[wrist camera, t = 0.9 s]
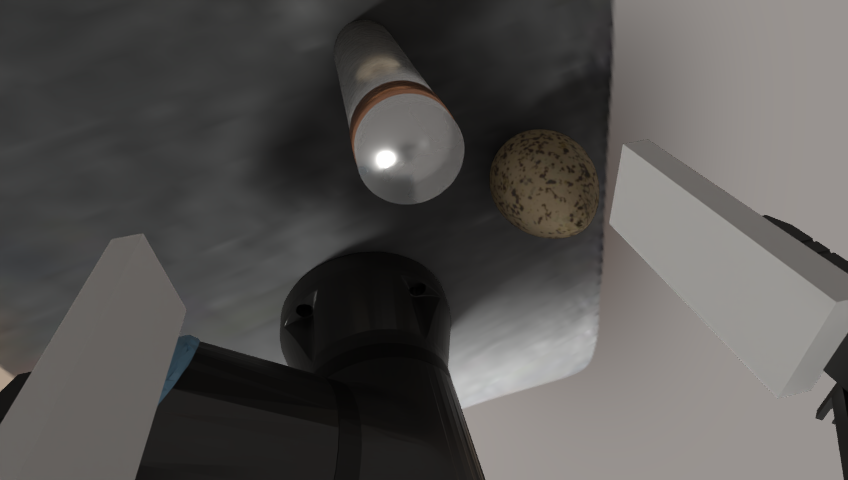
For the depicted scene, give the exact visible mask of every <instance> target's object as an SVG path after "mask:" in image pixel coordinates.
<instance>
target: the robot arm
mask: <svg viewBox="0 0 848 480" xmlns="http://www.w3.org/2000/svg"><path fill="white" fill-rule="evenodd" d="M609 224H610V225H611V226H612V227H613V228H614V229H615V230H616V231H617V232H618V233H619V234H620V235H621V236H622V237H623V239H624V240H625V241H626V242H627V243H628V244H629V245H630V246H631V247H632V248H633V249H634V250H635V251H636V252H637V253H638V254H639V255H640V256H641V257H642V258H643V259H644V260H645V261H646V262H647V263H648V265H649V266H651V268H652V269H653V270H654V271H655V272H656V273H657V274H658V275H659V276H660V277H661V278H662V279H663V280H664V281H665V282H666V283H667V284H668V285H669V286H670V287H671V288H672V289H673V290H674V291H675V293H676V294H677V295H678V296H679V297H680V298H681V299H682V300H683V301H684V302H685V303H686V304H687V305H688V306H689V307H690V308H691V309H692V310H693V311H694V312H695V313H696V314H697V315H698V316H699V318H700V319H701V320H702V321H703V322H704V323H705V324H706V325H707V326H708V327H709V328H710V329H711V330H712V331H713V332H714V333H715V334H716V335H717V336H718V337H719V338H720V339H721V340H722V341H723V343H724V344H725V345H726V346H727V347H728V348H729V349H730V350H731V351H732V352H733V353H734V354H735V355H736V356H737V357H738V358H739V359H740V360H741V361H742V362H743V363H744V364H745V365H746V366H747V367H748V368H749V370H750V371H751V372H752V373H753V374H754V375H755V376H756V377H757V378H758V379H759V380H760V381H761V382H762V383H763V384H764V385H765V386H766V387H767V388H768V389H769V390H770V391H771V392H772V393H773V394H774V395H775V397H776V398H777V399H779V398H783V397H787V396H791V395H794V394H798V393H802V392H806V391H810V390H811V389H812V388H813V386H814V385H815V383H816V382H817V380H818V379H819V377H820V376H821V374H822V373H823V371H825V372H826V373H827V374H828V375H829V376H830V377H831V378H833V379H834V380H835V381H836V382H837V383H836V384H835V386H834V387H833V389H832V390H831V391H830V393H829V394H828V396H827V397H826V399H825V400H824V401H823V403H822V404H821V405H820V407H819V408H818V410H817V413H816V418H817V419H820V420H823V419H824V417H825V416H826V415H827V413H828V412H829V411H830V409H832V408H833V411H834V417H835V419H834V420H833V422H832V423H833V424H836V431H837V437H838V444H839V450H840V457H841V463H842V470H843V476H844V480H848V261H846V260H845V259H843V258H842V257H840V256H839V255H837V254H836V253H831V252H830V249H828V248H826V247H825V246H823V245H822V244H820V243H819V242H817V241H816V242H814V241H813V239H812V238H811V237H810V236H808V235H806V234H805V233H803V232H802V231H800V230H799V229H797V228H796V227H794V226H793V225H790V224H788V223H785V222H783V221H780V220H778V219H775V218H773V217H770V216H767V215H764V216H761V215H760V214H758V213H756V212H755V211H753V210H752V209H751V208H749V207H747V206H746V205H745V204H743V203H742V202H740V201H739V200H737V199H736V198H734V197H733V196H731V195H730V194H728V193H727V192H725V191H724V190H722V189H721V188H719V187H718V186H716V185H715V184H713V183H712V182H711V181H709V180H708V179H706V178H705V177H703V176H702V175H700V174H698V173H697V172H696V171H694V170H693V169H691V168H690V167H688V166H687V165H685V164H684V163H682V162H681V161H679V160H678V159H676V158H675V157H673V156H672V155H670V154H669V153H667V152H666V151H664V150H663V149H661V148H660V147H658V146H657V145H656V144H654V143H653V142H651V141H649V140H648V139H647V140H642V141H637V142H631V143H626V144H623V147H622V152H621V159H620V164H619V171H618V175H617V181H616V187H615V192H614V198H613V204H612V209H611V215H610V221H609ZM186 311H187V310H186V308H185V306H184V305H183V303H182V301H181V299H180V297H179V296H178V294H177V292H176V290H175V289H174V287H173V285H172V283H171V282H170V280H169V278H168V276H167V275H166V273H165V271H164V269H163V268H162V266H161V264H160V262H159V261H158V259H157V257H156V255H155V254H154V252H153V250H152V248H151V247H150V245H149V243H148V241H147V239H146V238H145V236H144V234H143V233H142V234H137V235H132V236H126V237H121V238H116V239H111V241H110V243H109V244H108V246H107V248H106V249H105V251H104V253H103V254H102V256H101V258H100V259H99V261H98V263H97V264H96V266H95V268H94V269H93V271H92V273H91V274H90V276H89V278H88V279H87V281H86V283H85V284H84V286H83V288H82V289H81V291H80V293H79V294H78V296H77V298H76V299H75V301H74V302H73V304H72V306H71V307H70V309H69V311H68V312H67V314H66V316H65V317H64V319H63V321H62V322H61V324H60V326H59V327H58V329H57V331H56V332H55V334H54V336H53V337H52V339H51V341H50V342H49V344H48V346H47V347H46V349H45V351H44V352H43V354H42V356H41V357H40V359H39V361H38V362H37V364H36V366H35V367H34V369H33V371H32V372H28V373H23V374H18V375H17V376H16V377H15V378H14V379H13V380H12V381H11V382H10V383H9V384H8V385H7V386H6V387H5V388H4V389H3V390H2V391H1V392H0V480H485V477H484V474H483V471H482V469H481V465H480V463H479V460H478V457H477V454H476V451H475V448H474V445H473V442H472V439H471V436H470V433H469V430H468V427H467V424H466V421H465V418H464V415H463V412H462V409H461V406H460V403H459V400H458V397H457V394H456V391H455V388H454V386H453V383H452V380H451V376H450V373H449V370H448V359H449V345H450V330H451V315H450V309H449V305H448V302H447V300H446V297H445V294H444V292H443V289H442V287H441V285H440V283H439V281H438V280H437V278H436V277H435V276H434V275H433V274H432V273H431V272H430V271H429V270H428V269H427V268H425V267H424V266H422V265H421V264H419V263H417V262H415V261H413V260H411V259H409V258H406V257H403V256H399V255H395V254H390V253H381V252H367V253H357V254H352V255H347V256H343V257H340V258H337V259H334V260H331V261H329V262H327V263H324V264H322V265H320V266H319V267H317V268H315V269H314V270H312V271H311V272H309V273H308V274H307V275H305V276H304V277H303V278H302V279H301V280H300V281H299V282H298V283H297V284H296V285H295V286H294V287H293V289H292V290H291V291H290V293H289V295H288V296H287V298H286V300H285V302H284V305H283V308H282V313H281V324H280V343H281V348H282V352H283V355H284V357H285V360H286V362H287V365H288V366H285V365H282V364H278V363H275V362H271V361H268V360H264V359H261V358H257V357H254V356H250V355H246V354H243V353H239V352H236V351H232V350H229V349H225V348H222V347H218V346H215V345H211V344H208V343H204V342H200V340H199V339H198V338H196V337H193V336H191V335H185V336H182V337H179V334H180V330H181V327H182V324H183V321H184V317H185V314H186Z"/></svg>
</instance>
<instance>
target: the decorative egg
mask: <svg viewBox="0 0 848 480" xmlns="http://www.w3.org/2000/svg"><path fill="white" fill-rule="evenodd" d="M489 182H490V190H491V194H492V197H493V200H494V202H495V204H496V206H497V208H498V210H499V211H500V212H501V213H502V215H503V216H504V217H505V218H506V219H507V220H508V221H509V222H510V223H511V224H513V225H514V226H516V227H517V228H519V229H520V230H522V231H524V232H526V233H528V234H531V235H534V236H537V237H542V238H553V239H557V238H566V237H570V236H574V235H576V234H578V233H580V232H582V231H583V230H584V229H586V228H587V227H588V226H589V224H590V223H591V221H592V220H593V218H594V216H595V213H596V210H597V207H598V202H599V182H598V177H597V173H596V170H595V167H594V165H593V163H592V161H591V159H590V157H589V156H588V154H587V153H586V152H585V150H584V149H583V148H582V147H581V146H580V145H579V144H578V143H577V142H575V141H574V140H573V139H571V138H570V137H568V136H566V135H564V134H562V133H559V132H557V131H552V130H546V129H535V130H528V131H525V132H522V133H519V134H517V135H515V136H513V137H512V138H510V139H509V140H508V141H507V142H506V143H505V144H504V145H503V146H502V147H501V148H500V149H499V150H498V152H497V154H496V155H495V157H494V160H493V162H492V165H491V169H490V177H489Z"/></svg>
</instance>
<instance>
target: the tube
mask: <svg viewBox="0 0 848 480" xmlns="http://www.w3.org/2000/svg"><path fill="white" fill-rule="evenodd" d="M334 59H335V63H336V68H337V73H338V77H339V82H340V87H341V92H342V96H343V101H344V106H345V110H346V115H347V120H348V125H349V129H350V140H351V145H352V150H353V154H354V159H355V162H356V164H357V167H358V171H359V174H360V176H361V178H362V180H363V182H364V183H365V185H366V186H367V187H368V189H370V190H371V191H372V192H373V193H374V194H375V195H377V196H378V197H380V198H382V199H383V200H386V201H388V202H392V203H396V204H417V203H421V202H425V201H427V200H430V199H432V198H434V197H436V196H437V195H439V194H441V193H442V192H443V191H444V190H446V189H447V188H448V187H449V186H450V185H451V183H452V182H453V181H454V180H455V178H456V177H457V175H458V173H459V171H460V169H461V166H462V163H463V159H464V140H463V136H462V133H461V131H460V129H459V127H458V125H457V123H456V122H455V120H454V118H453V116H452V115H451V113H450V112H449V110H448V109H447V108H446V106H445V105H444V104H443V102H442V101H441V100H440V98H439V97H438V96H437V95H436V94H435V93H434V92H433V91H432V90H431V88H430V87H429V86H428V84H427V83H426V82H425V80H424V79H423V78H422V76H421V75H420V74H419V72H418V71H417V69H416V68H415V67H414V65H413V64H412V63H411V61H410V60H409V59H408V57H407V56H406V55H405V53H404V52H403V51H402V49H401V48H400V47H399V45H398V44H397V42H396V41H395V40H394V38H393V37H392V36H391V34H390V33H389V32H388V30H387V29H386V28H385V27H383V26H382V25H380V24H379V23H377V22H374V21H371V20H357V21H354V22H352V23H349V24H348V25H346V26H345V27H344V28H343V29H342V30H341V31H340V33H339V34H338V36H337V38H336V41H335V44H334Z"/></svg>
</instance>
